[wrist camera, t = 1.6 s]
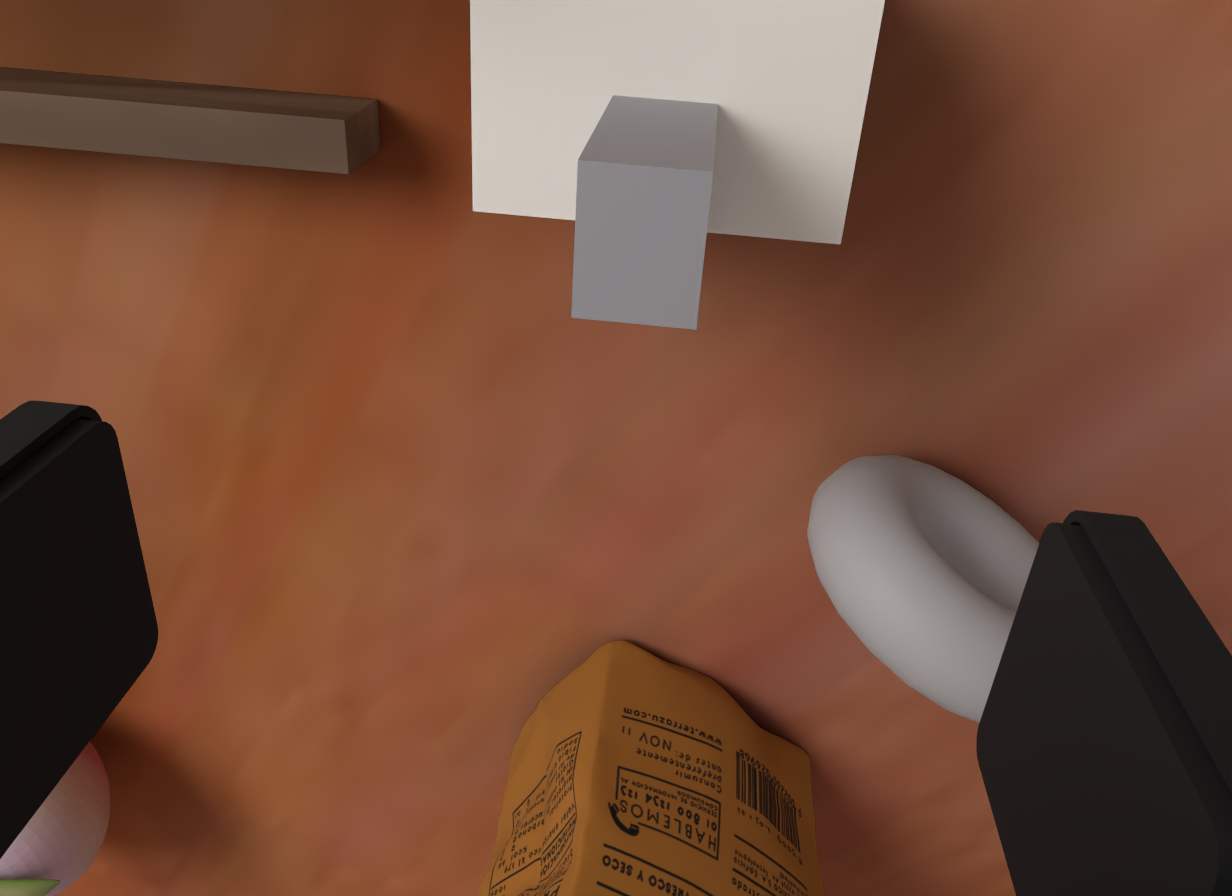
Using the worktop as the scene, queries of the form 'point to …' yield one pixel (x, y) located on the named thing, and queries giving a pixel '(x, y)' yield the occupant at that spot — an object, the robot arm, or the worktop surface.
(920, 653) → the donut
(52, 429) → the robot arm
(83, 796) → the decorative fruit
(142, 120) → the wall board
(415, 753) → the worktop surface
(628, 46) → the white block gray post
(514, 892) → the coffee package
